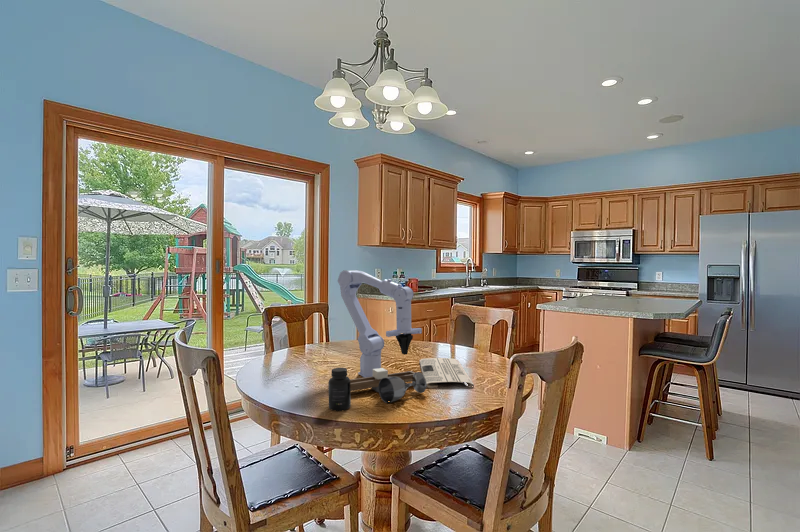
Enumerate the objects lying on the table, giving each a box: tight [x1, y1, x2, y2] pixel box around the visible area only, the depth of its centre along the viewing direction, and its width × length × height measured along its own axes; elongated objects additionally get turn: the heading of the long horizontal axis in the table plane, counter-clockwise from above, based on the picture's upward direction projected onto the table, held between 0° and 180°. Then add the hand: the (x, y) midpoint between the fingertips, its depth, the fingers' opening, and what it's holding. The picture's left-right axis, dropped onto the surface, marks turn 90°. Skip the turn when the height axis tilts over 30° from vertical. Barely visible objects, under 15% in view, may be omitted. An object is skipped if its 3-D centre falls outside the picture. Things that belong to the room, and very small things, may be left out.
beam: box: [349, 370, 416, 393], centre depth 144 cm, size 6×28×4 cm, turn 117°
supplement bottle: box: [327, 367, 352, 412], centre depth 126 cm, size 7×7×12 cm
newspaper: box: [419, 357, 475, 388], centre depth 164 cm, size 37×19×3 cm, turn 1°
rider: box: [373, 367, 389, 379], centre depth 144 cm, size 4×4×4 cm
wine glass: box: [378, 371, 427, 404], centre depth 135 cm, size 8×8×15 cm
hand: (404, 353), depth 154 cm, fingers closed
